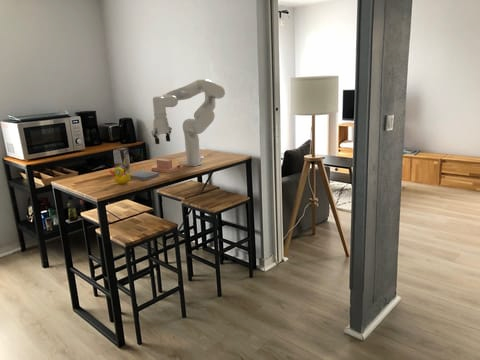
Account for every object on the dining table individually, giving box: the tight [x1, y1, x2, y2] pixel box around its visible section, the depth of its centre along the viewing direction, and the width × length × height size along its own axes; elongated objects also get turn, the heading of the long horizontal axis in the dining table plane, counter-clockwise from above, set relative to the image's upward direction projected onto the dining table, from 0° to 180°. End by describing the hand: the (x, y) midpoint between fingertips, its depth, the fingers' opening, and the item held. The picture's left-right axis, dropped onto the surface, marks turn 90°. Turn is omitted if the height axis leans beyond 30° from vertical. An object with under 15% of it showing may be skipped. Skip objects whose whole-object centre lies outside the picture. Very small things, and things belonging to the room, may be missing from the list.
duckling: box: [109, 167, 131, 185], centre depth 231 cm, size 11×5×10 cm, turn 96°
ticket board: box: [129, 169, 160, 182], centre depth 246 cm, size 12×16×2 cm
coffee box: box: [112, 147, 131, 176], centre depth 256 cm, size 9×6×16 cm
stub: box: [151, 158, 179, 174], centre depth 260 cm, size 8×16×7 cm, turn 56°
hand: (162, 142), depth 256 cm, fingers open, 9 cm apart
